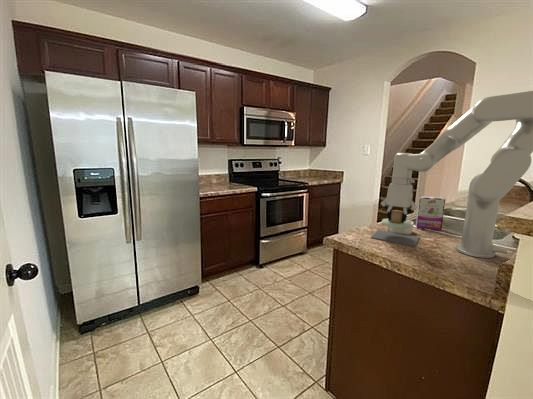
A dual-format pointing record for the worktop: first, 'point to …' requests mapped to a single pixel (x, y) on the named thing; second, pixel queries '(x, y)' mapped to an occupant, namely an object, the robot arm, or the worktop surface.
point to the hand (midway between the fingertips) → (396, 220)
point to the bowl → (402, 229)
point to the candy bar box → (430, 212)
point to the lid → (396, 220)
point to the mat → (396, 238)
